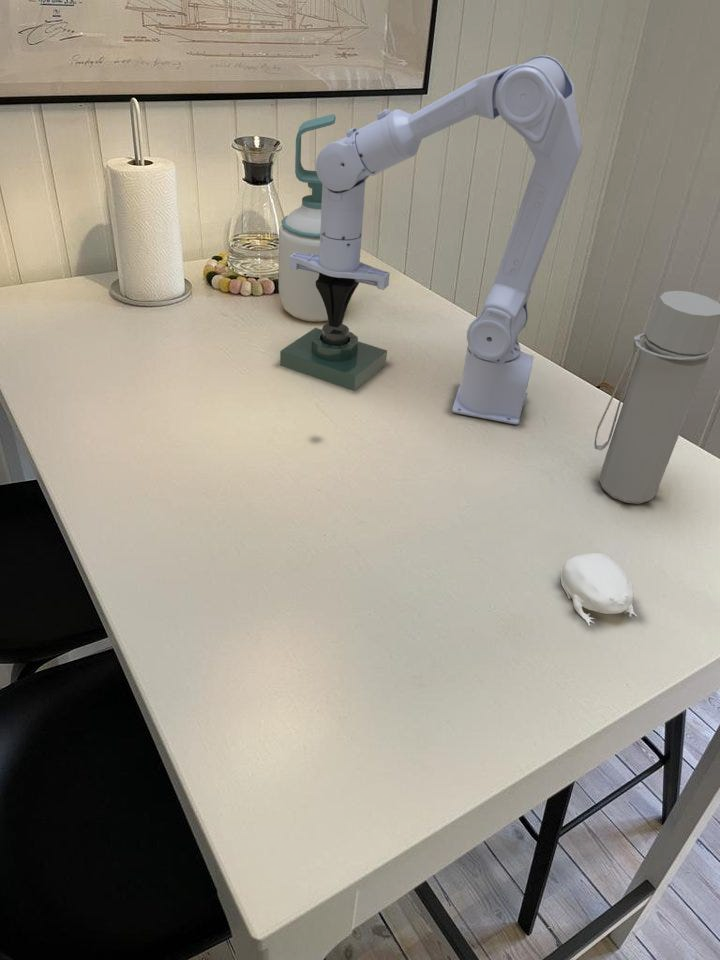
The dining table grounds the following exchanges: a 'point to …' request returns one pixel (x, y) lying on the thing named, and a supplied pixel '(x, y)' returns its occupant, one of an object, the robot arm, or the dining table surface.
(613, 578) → the chubby white toad
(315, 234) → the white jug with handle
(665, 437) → the water bottle
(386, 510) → the dining table surface
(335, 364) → the green push button box
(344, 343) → the dark grey push button
